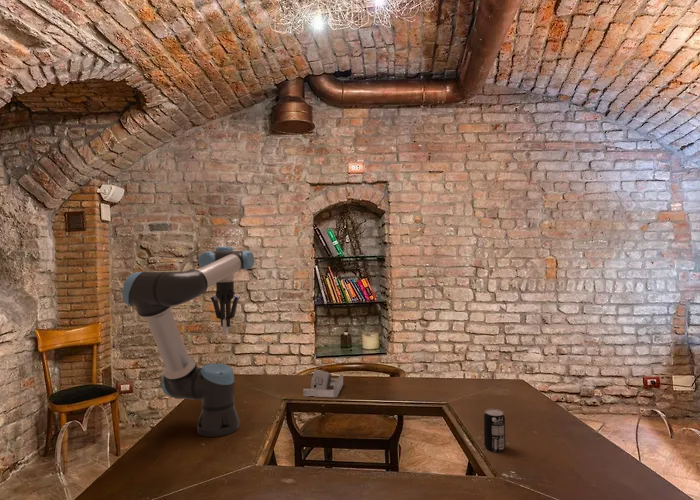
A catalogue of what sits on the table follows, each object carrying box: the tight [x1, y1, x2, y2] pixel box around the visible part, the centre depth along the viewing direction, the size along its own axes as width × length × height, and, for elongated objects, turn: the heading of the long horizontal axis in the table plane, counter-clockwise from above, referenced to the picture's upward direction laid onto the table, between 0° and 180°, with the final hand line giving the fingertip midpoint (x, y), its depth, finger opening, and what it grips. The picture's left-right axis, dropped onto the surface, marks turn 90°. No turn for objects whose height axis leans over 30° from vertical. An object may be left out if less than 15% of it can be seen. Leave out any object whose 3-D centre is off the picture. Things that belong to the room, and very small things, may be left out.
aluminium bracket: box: [302, 374, 344, 398], centre depth 206 cm, size 18×16×5 cm
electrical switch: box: [310, 369, 333, 389], centre depth 206 cm, size 9×5×9 cm, turn 51°
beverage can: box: [483, 408, 506, 453], centre depth 145 cm, size 7×7×12 cm
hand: (225, 334), depth 194 cm, fingers closed
